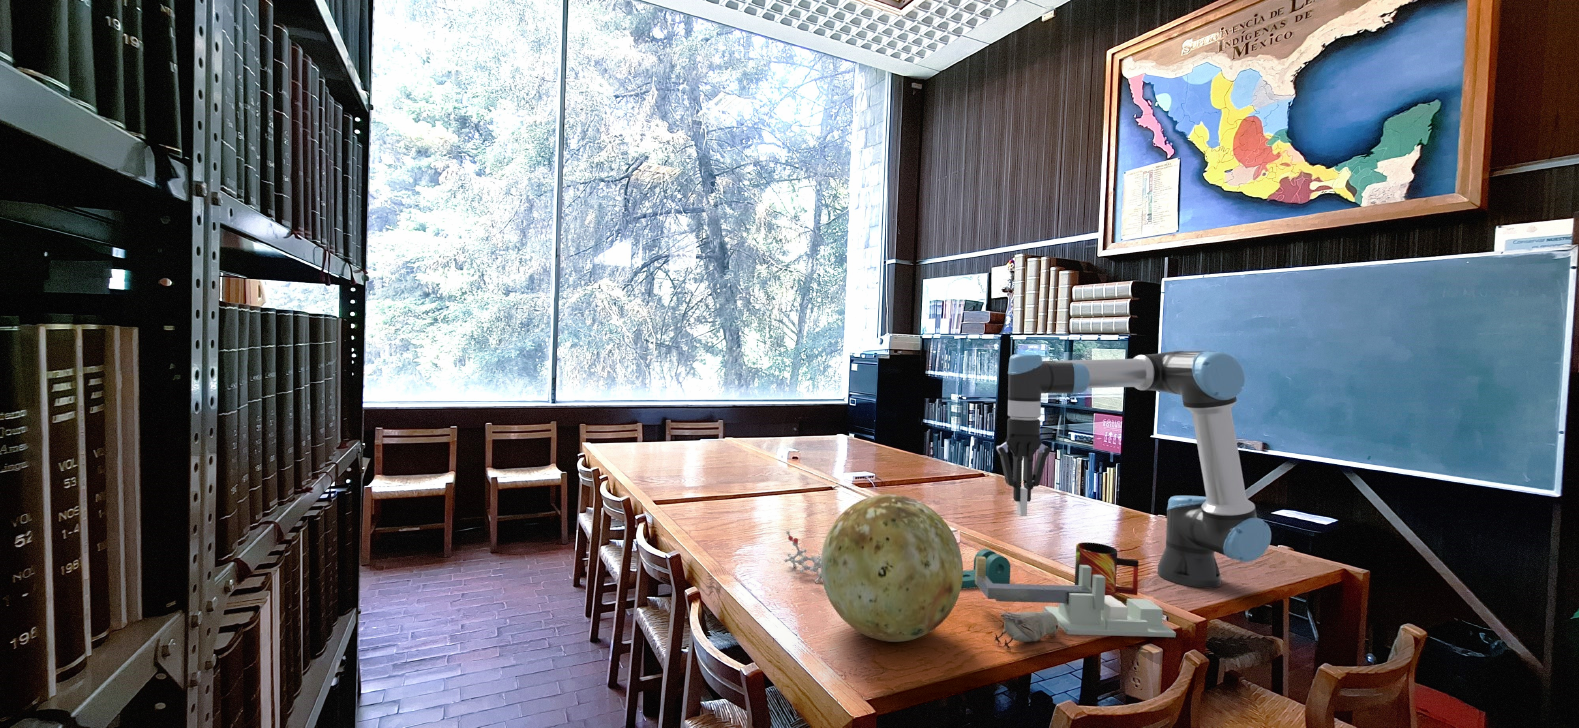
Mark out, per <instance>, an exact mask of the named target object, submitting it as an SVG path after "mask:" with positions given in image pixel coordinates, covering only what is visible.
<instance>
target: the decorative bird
mask: <svg viewBox="0 0 1579 728" xmlns="http://www.w3.org/2000/svg"><path fill="white" fill-rule="evenodd" d="M998 614H1000V615H999V617H1001V618H1003V619H1004V624H1003V626H1004V629H1003V630H1002V632H1001V633H1000V635H997V633H995V632H994V634H995V637H994V642H995V641H996V642H997V644H998V645H1002V643H1001V641H1000V638H1002V637H1003V635H1004V634H1006V633H1007V635H1008V636H1009V637H1010V640H1009V641H1008V642H1007V639H1004V645H1003V648H1004V647H1006V648H1007V649H1008V650H1009V651H1010V652H1011V651H1012V650H1011V646H1009V644H1011V642H1013V641H1017V642H1021V643H1022V642H1023V643H1025V642H1029V643H1030V642H1031V643H1032V642H1038V641H1040V639H1041V638H1043V637H1044V636H1046V635H1047V634H1048V635H1050V636H1052V637H1053V638H1055V637H1056V636H1057V635H1058V631H1059V628H1060V626H1059V625H1058V621H1057V618H1056V617H1055V615H1053V614H1052V613H1051V612H1047V611H1044V610H1043V611H1038V612H1037V611H1019V612H1009V611H1008V612H1007V611H1006V612H998Z"/></svg>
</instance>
